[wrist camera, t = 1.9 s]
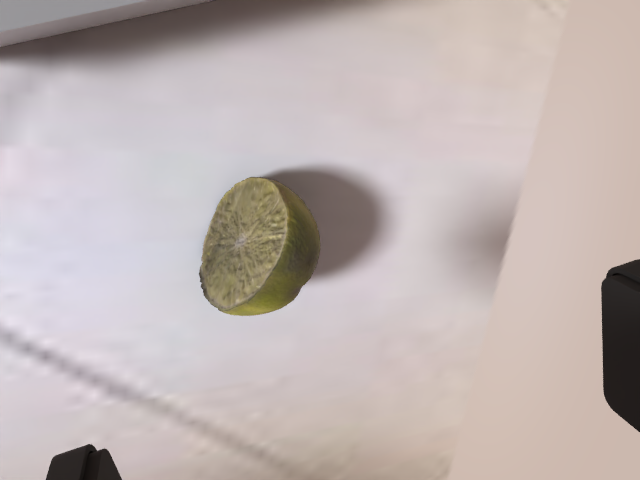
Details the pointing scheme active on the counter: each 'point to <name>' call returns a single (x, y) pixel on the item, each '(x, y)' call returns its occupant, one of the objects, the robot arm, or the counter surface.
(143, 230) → the counter surface
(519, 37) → the counter surface
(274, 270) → the lime
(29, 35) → the low wall
